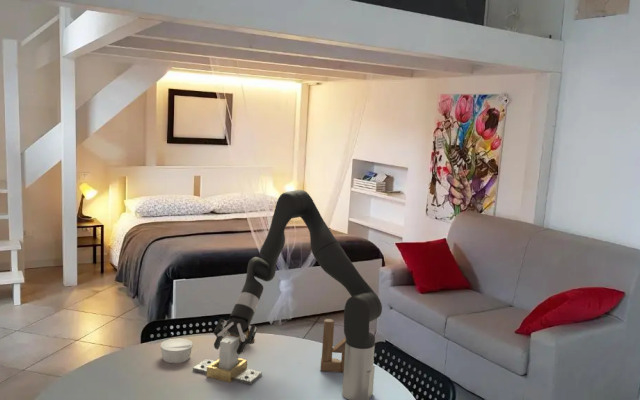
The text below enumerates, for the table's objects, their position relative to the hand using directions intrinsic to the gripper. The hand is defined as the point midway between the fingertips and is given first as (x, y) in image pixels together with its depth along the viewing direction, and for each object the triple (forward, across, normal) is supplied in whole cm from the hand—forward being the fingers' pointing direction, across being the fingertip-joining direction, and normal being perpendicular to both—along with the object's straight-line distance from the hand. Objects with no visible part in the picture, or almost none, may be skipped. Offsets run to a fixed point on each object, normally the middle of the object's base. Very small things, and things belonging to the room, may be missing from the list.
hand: (227, 351), depth 182 cm
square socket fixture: (+5, 0, +6) cm, 8 cm away
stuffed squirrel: (-14, -12, +26) cm, 32 cm away
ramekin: (+4, -22, +8) cm, 24 cm away
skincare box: (+5, 0, +6) cm, 8 cm away
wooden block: (-9, +32, +21) cm, 39 cm away
